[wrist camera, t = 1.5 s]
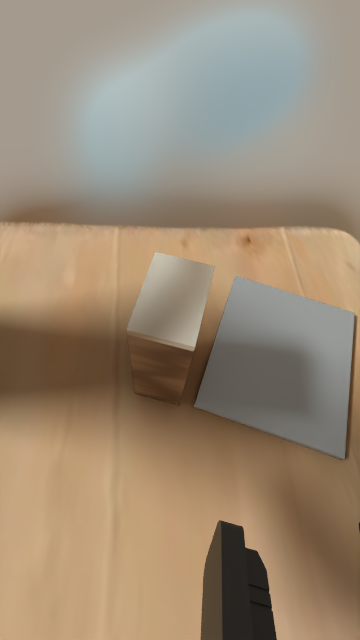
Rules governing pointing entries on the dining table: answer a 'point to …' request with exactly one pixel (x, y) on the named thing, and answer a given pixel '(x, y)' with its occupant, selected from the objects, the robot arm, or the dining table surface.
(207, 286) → the brown rectangular block
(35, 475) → the dining table surface
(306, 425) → the felt mat
